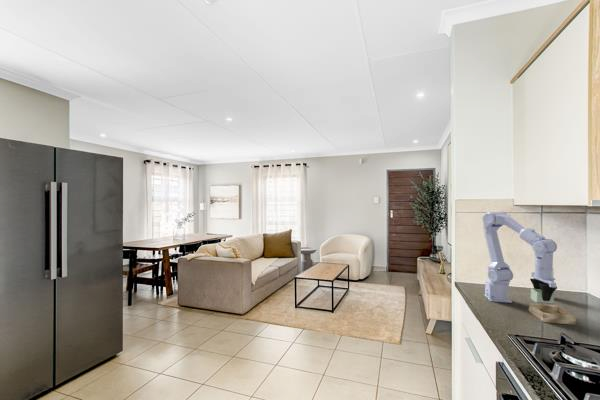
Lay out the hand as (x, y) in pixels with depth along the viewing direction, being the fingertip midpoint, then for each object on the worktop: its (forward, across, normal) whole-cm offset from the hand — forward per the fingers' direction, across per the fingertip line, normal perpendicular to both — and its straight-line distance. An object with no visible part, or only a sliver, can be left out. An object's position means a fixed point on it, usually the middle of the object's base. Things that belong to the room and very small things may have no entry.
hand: (542, 298), depth 123 cm
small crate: (+1, 0, 0) cm, 1 cm away
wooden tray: (+8, +1, -4) cm, 9 cm away
